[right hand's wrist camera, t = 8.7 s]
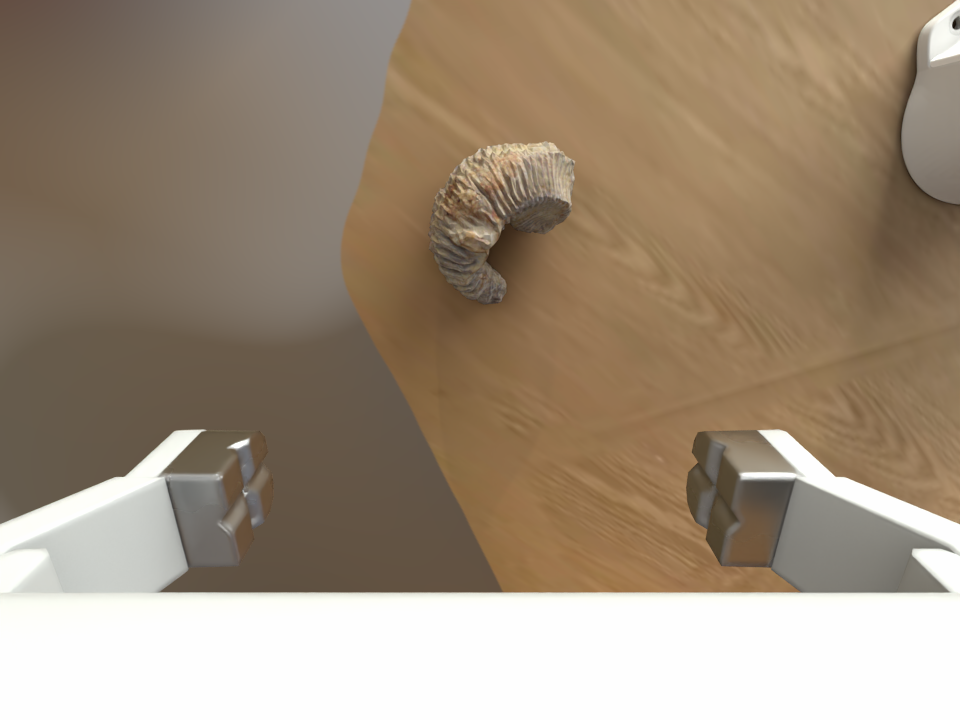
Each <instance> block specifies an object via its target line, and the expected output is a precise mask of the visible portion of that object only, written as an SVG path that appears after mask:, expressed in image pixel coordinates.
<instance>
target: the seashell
mask: <svg viewBox="0 0 960 720" xmlns="http://www.w3.org/2000/svg"><path fill="white" fill-rule="evenodd" d="M574 164H575V161H574V160H572V159H570V158H568V157H565V154H564V153H563V151H562V152H560V150H559V149H558V148H557V147H556V146H555V145H554V143H547V142H543V143H537V144H535V143H533V144H531V143H529V144H528V145H527V146H526V145H524V144H522V143H521V144H512V145H510V144H503V145H498V146H487V149H486V150H485V149H482V148H481V149H479V150H478V152H477V153H475V154H474V155H473V156H469V157H467V158H466V159H464V160H463V162H462V163H461V164H460V165H457V167H456V168H455V169H454V171H453V172H452V173H451V174H450V177H449V180H448V181H447V182H446V185H445V187H444V189H440V191H439V192H438V193H437V194H436V197H435V198H434V199H435V203H434V206H433V209H432V211H433V212H434V213H433V214H432V216H431V221H430V227H429V228H430V231H429V233H428V235H429V237H430V238H431V242H430V245H429V250H431V252H433V253H434V259H435V260H436V262H437V264H439V270H440V271H441V273H442V274H444V276H445V277H446V280H447V282H449V283H450V284H452V285H453V287H454V288H455V289H456V290H458V291H460V292H461V293H462V295H464V296H465V297H466V298H467V299H470V300H475V299H476V300H477V301H478V302H479V303H482V304H493V303H499V302H501V301H502V297H503V296H504V295H505V294H506V292H507V290H506V286H507V284H506V281H505V280H504V279H503V278H502V277H501V275H500V274H499V273H498V272H497V271H496V270H495V269H493V268H492V267H491V265H489V264H488V263H487V262H486V260H487V258H488V255H489V249H490V248H491V247H492V246H493V245H494V244H495V243H496V242H497V241H498V239H499V237H500V234H501V230H504V228H505V227H504V225H505V224H508V223H510V224H511V225H512V227H513V228H514V229H516V230H520V231H524V232H529V233H531V232H535V233H540V234H545V233H547V232H548V231H550V230H552V229H553V228H554V226H555V225H558V224H559V223H561V222H563V221H564V220H565V219H566V218H567V217H568V216H569V214H570V212H571V206H572V204H571V200H570V199H571V195H572V188H573V185H574V179H575V178H574V173H573V169H574Z"/></svg>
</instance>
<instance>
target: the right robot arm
mask: <svg viewBox="0 0 960 720" xmlns="http://www.w3.org/2000/svg"><path fill="white" fill-rule="evenodd" d="M954 19H955V21H956V26H955V28H954V29H953V28H952V23H953V21H954ZM901 143H902V153H903V157H904V161H905V164H906V167H907V169H908V172H909V174H910V175H911V177H912V179H913V180H914V181H915V183H916V184H917V185H918V186H919V187H920V188H921V189H922V190H923V191H924V192H926V193H927V194H928V195H930V196H932V197H934V198H936V199H938V200H940V201H943V202H947V203H952V204H960V0H956V1H955V2H954V3H952V4H951V5H950V6H949V7H947V8H946V9H945V10H943V11H942V12H941V13H939V14H938V15H937V16H935V17H934V18H933V19H932V20H930V21H929V22H928V23H927V24H926V25H925V26H924V27H923V29H922V30H921V32H920V35H919V38H918V44H917V75H916V79H915V83H914V86H913V89H912V91H911V94H910V97H909V100H908V103H907V106H906V109H905V113H904V117H903V123H902V132H901ZM267 453H268V449H267V445H266V440H265V436H264V435H263V434H262V433H261V432H260V431H221V430H207V431H206V430H180V431H174V432H173V433H172V434H171V435H170V436H169V437H168V438H167V439H166V440H165V441H163V442H162V443H161V444H160V445H159V446H158V447H157V448H156V449H155V450H154V451H152V452H151V453H150V454H149V455H148V456H147V457H146V458H145V459H144V460H143V461H142V462H140V463H139V464H138V465H137V466H136V467H135V468H134V469H133V470H132V471H131V472H130V473H128V474H127V475H126V476H125V477H115V478H112V479H110V480H107V481H105V482H103V483H100V484H98V485H95V486H93V487H91V488H88V489H85V490H83V491H81V492H78V493H76V494H73V495H71V496H69V497H66V498H63V499H61V500H59V501H56V502H54V503H51V504H49V505H46V506H44V507H42V508H39V509H37V510H34V511H32V512H29V513H27V514H24V515H22V516H20V517H17V518H15V519H12V520H10V521H7V522H5V523H2V524H0V720H960V524H957V523H955V522H952V521H950V520H948V519H945V518H943V517H940V516H938V515H935V514H933V513H931V512H928V511H926V510H923V509H921V508H918V507H916V506H913V505H911V504H909V503H906V502H904V501H901V500H899V499H896V498H894V497H892V496H889V495H887V494H884V493H882V492H879V491H877V490H874V489H872V488H870V487H867V486H865V485H862V484H860V483H857V482H855V481H853V480H850V479H848V478H845V477H835V476H834V475H833V474H832V473H830V472H829V471H828V470H827V469H826V468H825V467H824V466H823V465H822V464H821V463H820V462H819V461H817V460H816V459H815V458H814V457H813V456H812V455H811V454H810V453H809V452H808V451H807V450H805V449H804V448H803V447H802V446H801V445H800V444H799V443H798V442H797V441H796V440H795V439H794V438H792V437H791V436H790V435H789V434H788V433H787V432H785V431H782V430H744V431H704V432H698V433H697V435H696V437H695V440H694V444H693V449H692V453H693V455H694V456H695V458H696V459H697V461H698V463H697V464H696V465H695V466H694V467H693V468H692V469H691V470H690V471H689V472H688V479H687V486H686V491H687V502H688V505H689V509H690V512H691V514H692V516H693V518H694V520H695V521H696V523H698V524H700V525H701V526H703V527H704V528H706V529H708V530H707V535H706V541H707V542H708V544H709V546H710V547H711V549H712V551H713V552H714V554H715V556H716V558H717V559H718V561H719V563H720V564H721V566H736V567H772V568H771V570H772V571H774V572H775V573H776V574H778V575H779V576H780V577H782V578H783V579H784V580H786V581H787V582H788V583H790V584H791V585H792V586H794V587H795V588H796V589H798V590H799V591H800V592H802V593H159V592H160V591H161V590H162V589H164V588H165V587H166V586H168V585H169V584H170V583H172V582H173V581H174V580H176V579H177V578H178V577H180V576H181V575H182V574H184V573H185V572H186V571H188V567H222V566H239V564H240V563H241V561H242V559H243V558H244V556H245V554H246V552H247V551H248V549H249V547H250V546H251V544H252V542H253V540H254V535H253V530H252V529H254V528H256V527H257V526H259V525H260V524H262V523H264V521H265V519H266V518H267V516H268V514H269V512H270V509H271V504H272V500H273V478H272V472H271V471H270V470H269V469H268V468H267V467H266V466H265V465H264V464H263V463H262V461H263V459H264V458H265V456H266V454H267Z"/></svg>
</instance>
